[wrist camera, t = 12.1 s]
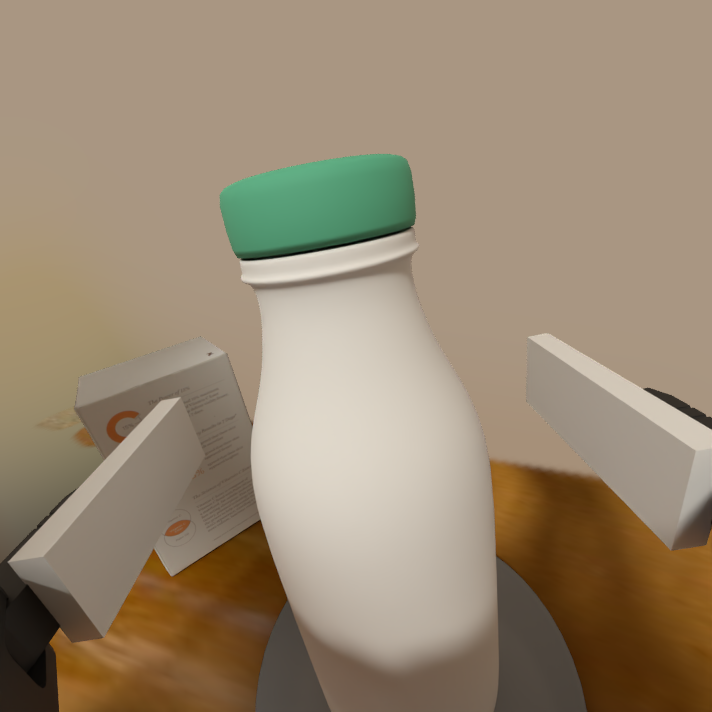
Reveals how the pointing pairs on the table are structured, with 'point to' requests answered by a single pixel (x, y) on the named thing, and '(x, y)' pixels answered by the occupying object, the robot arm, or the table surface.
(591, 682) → the table surface
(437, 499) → the milk bottle
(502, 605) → the slate trivet
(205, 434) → the small box
